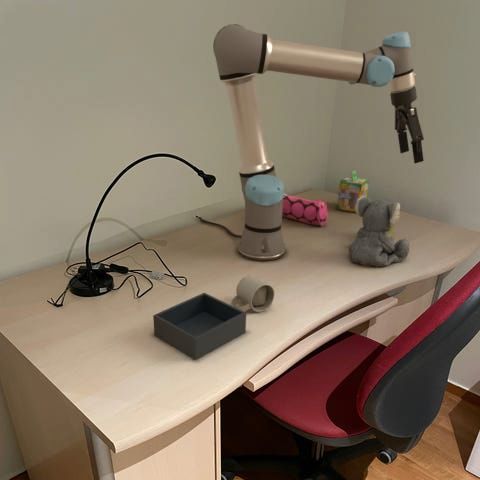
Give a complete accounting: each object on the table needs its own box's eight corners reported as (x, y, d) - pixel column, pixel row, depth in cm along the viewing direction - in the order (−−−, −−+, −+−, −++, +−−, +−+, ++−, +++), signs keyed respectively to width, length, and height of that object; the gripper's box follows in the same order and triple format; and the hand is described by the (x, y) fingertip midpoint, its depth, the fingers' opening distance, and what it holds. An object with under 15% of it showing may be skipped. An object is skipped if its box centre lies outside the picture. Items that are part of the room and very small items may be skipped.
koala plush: (411, 259, 166) (423, 199, 156) (379, 275, 155) (391, 212, 145) (365, 243, 177) (375, 186, 167) (333, 257, 166) (341, 197, 156)
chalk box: (357, 213, 203) (363, 175, 196) (336, 209, 207) (340, 172, 200) (365, 207, 210) (371, 170, 203) (344, 203, 214) (349, 167, 207)
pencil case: (267, 217, 196) (269, 191, 191) (280, 211, 203) (281, 185, 198) (318, 230, 186) (321, 203, 181) (330, 222, 194) (333, 196, 188)
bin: (154, 335, 123) (153, 315, 120) (204, 311, 133) (204, 292, 131) (195, 360, 115) (195, 339, 112) (245, 332, 125) (246, 312, 122)
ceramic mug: (256, 295, 142) (256, 269, 138) (274, 307, 136) (275, 281, 132) (223, 306, 137) (223, 279, 133) (241, 319, 131) (242, 292, 127)
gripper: (429, 90, 146) (437, 162, 157) (401, 80, 168) (410, 144, 178) (403, 99, 147) (413, 170, 158) (378, 88, 169) (388, 151, 179)
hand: (411, 156), depth 168 cm, fingers open, 13 cm apart
